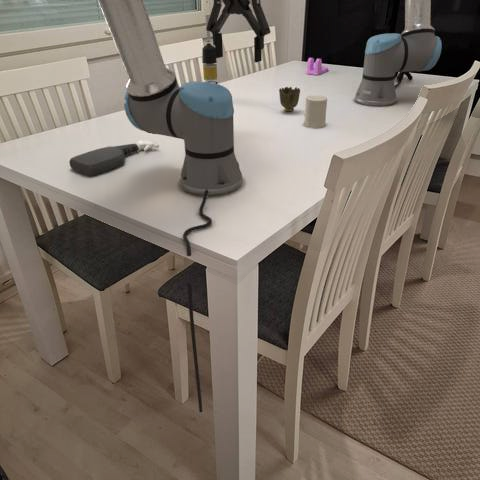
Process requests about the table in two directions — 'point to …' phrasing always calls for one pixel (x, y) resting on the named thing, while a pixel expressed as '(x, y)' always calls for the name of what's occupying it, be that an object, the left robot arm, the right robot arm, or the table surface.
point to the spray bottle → (106, 157)
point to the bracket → (317, 69)
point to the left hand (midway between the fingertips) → (238, 59)
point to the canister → (315, 111)
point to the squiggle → (401, 74)
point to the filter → (209, 59)
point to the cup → (289, 98)
